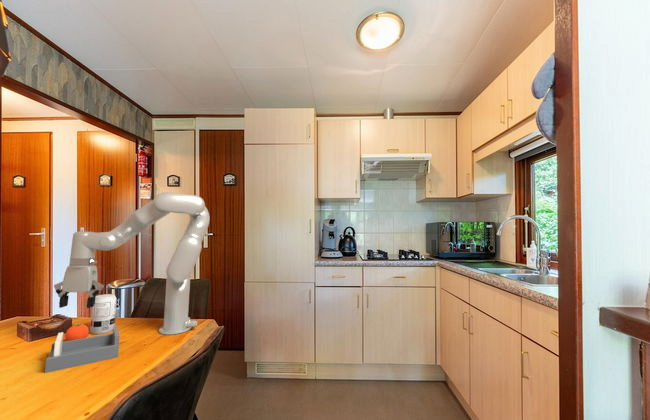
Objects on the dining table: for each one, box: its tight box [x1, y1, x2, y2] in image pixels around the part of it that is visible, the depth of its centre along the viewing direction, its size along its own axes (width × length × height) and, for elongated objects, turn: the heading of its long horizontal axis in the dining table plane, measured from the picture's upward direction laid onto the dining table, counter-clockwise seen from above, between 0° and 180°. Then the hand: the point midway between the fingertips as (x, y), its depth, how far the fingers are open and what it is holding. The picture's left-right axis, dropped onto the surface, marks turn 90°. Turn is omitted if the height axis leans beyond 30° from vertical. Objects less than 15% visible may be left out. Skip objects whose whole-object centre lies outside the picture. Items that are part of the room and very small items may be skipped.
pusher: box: [54, 331, 64, 356], centre depth 92 cm, size 1×12×7 cm, turn 40°
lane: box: [44, 325, 120, 374], centre depth 97 cm, size 18×15×7 cm
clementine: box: [64, 323, 90, 341], centre depth 108 cm, size 8×7×7 cm
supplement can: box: [89, 293, 118, 335], centre depth 121 cm, size 8×8×15 cm
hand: (76, 306), depth 109 cm, fingers open, 9 cm apart
